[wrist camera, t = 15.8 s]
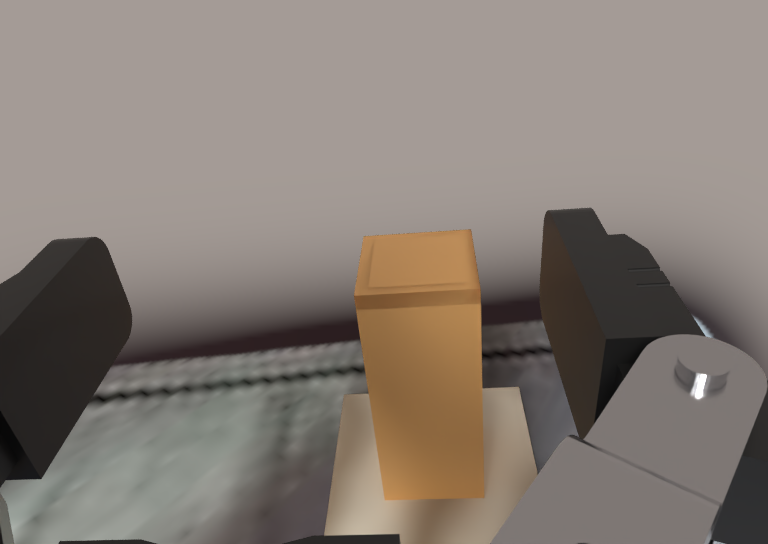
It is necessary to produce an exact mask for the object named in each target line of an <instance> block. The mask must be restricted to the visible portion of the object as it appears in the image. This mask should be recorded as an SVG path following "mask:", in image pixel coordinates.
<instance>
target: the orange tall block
mask: <svg viewBox="0 0 768 544" xmlns="http://www.w3.org/2000/svg"><path fill="white" fill-rule="evenodd" d="M354 298H355V305H356V312H357V319H358V326H359V332H360V339H361V346H362V352H363V359H364V365H365V372H366V379H367V385H368V392H369V399H370V405H371V412H372V419H373V425H374V432H375V438H376V445H377V452H378V458H379V465H380V472H381V478H382V485H383V492H384V498H385V500H418V499H460V498H484V448H483V394H482V340H481V290H480V282H479V277H478V270H477V264H476V257H475V252H474V246H473V239H472V233H471V230H470V229H469V230H453V231H438V232H424V233H407V234H392V235H377V236H364V238H363V244H362V250H361V256H360V262H359V268H358V275H357V280H356V287H355V293H354Z"/></svg>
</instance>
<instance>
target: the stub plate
mask: <svg viewBox="0 0 768 544" xmlns="http://www.w3.org/2000/svg"><path fill="white" fill-rule="evenodd" d="M482 394H483V448H484V498H460V499H418V500H385V498H384V492H383V485H382V478H381V472H380V465H379V458H378V452H377V445H376V438H375V432H374V425H373V419H372V412H371V405H370V399H369V394H348V395H344V399H343V406H342V413H341V420H340V427H339V434H338V442H337V449H336V456H335V463H334V470H333V477H332V484H331V491H330V498H329V505H328V512H327V519H326V526H325V533H324V536H326V535H373V534H400V542H401V544H490V543H491V541H492V540H493V538H494V537H495V535H496V534H497V533H498V531H499V530H500V528H501V527H502V525H503V524H504V523H505V521H506V520H507V518H508V517H509V515H510V514H511V512H512V511H513V510H514V508H515V507H516V505H517V504H518V502H519V501H520V500H521V498H522V497H523V495H524V494H525V492H526V491H527V490H528V488H529V487H530V485H531V484H532V482H533V481H534V480H535V478H536V477H537V475H538V473H537V469H536V464H535V460H534V455H533V450H532V446H531V441H530V436H529V432H528V427H527V423H526V418H525V413H524V409H523V404H522V399H521V395H520V390H519V387H505V388H482Z"/></svg>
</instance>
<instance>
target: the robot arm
mask: <svg viewBox="0 0 768 544" xmlns="http://www.w3.org/2000/svg"><path fill="white" fill-rule="evenodd" d="M540 306H541V313H542V318H543V322H544V325H545V328H546V332H547V335H548V338H549V341H550V345H551V348H552V351H553V354H554V357H555V361H556V364H557V367H558V370H559V373H560V377H561V380H562V383H563V386H564V389H565V393H566V396H567V399H568V402H569V405H570V409H571V412H572V415H573V418H574V421H575V425H576V428H577V431H578V434H579V437H580V438H579V437H577V436H575V435H569V436H567V437H566V438H565V439H564V440H563V441H562V442H561V443H560V444H559V445H558V447H557V448H556V449H555V451H554V452H553V454H552V455H551V457H550V458H549V459H548V461H547V462H546V464H545V465H544V467H543V468H542V469H541V471H540V472H539V474H538V475H537V477H536V478H535V480H534V481H533V482H532V484H531V485H530V487H529V488H528V490H527V491H526V492H525V494H524V495H523V497H522V498H521V500H520V501H519V502H518V504H517V505H516V507H515V508H514V510H513V511H512V512H511V514H510V515H509V517H508V518H507V520H506V521H505V523H504V524H503V525H502V527H501V528H500V530H499V531H498V533H497V534H496V535H495V537H494V538H493V540H492V541H491V543H490V544H714V541H717V542H721V543H725V544H768V380H767V379H766V376H765V374H764V372H763V370H762V369H761V367H760V366H759V365H758V364H757V363H756V362H755V361H754V360H753V359H752V358H751V357H749V356H748V355H747V354H746V353H744V352H743V351H741V350H739V349H738V348H736V347H734V346H732V345H730V344H728V343H725V342H722V341H720V340H717V339H713V338H709V337H706V336H705V335H704V333H703V332H702V330H701V329H700V327H699V326H698V324H697V323H696V321H695V320H694V318H693V317H692V315H691V313H690V312H689V310H688V309H687V307H686V306H685V304H684V303H683V301H682V300H681V298H680V297H679V296H678V294H677V292H676V291H675V289H674V288H673V287H672V286H670V282H669V280H668V279H667V277H666V276H665V274H664V273H663V271H660V267H659V265H658V264H657V262H656V261H655V259H654V258H653V256H652V255H651V253H650V252H649V250H648V249H647V248H645V247H644V246H642V245H641V244H639V243H638V242H636V241H635V240H633V239H632V238H630V237H628V236H627V235H625V234H617V235H608V234H607V233H606V231H605V229H604V228H603V226H602V224H601V222H600V221H599V219H598V217H597V215H596V214H595V212H594V210H593V209H592V208H579V209H563V210H548V211H547V212H546V214H545V218H544V226H543V243H542V258H541V274H540ZM131 327H132V314H131V308H130V305H129V302H128V300H127V297H126V294H125V292H124V289H123V287H122V284H121V282H120V279H119V276H118V274H117V271H116V268H115V266H114V263H113V261H112V258H111V255H110V253H109V250H108V248H107V246H106V245H105V243H104V242H103V241H102V240H101V239H99V238H97V237H89V238H72V239H57V240H53V241H51V242H50V243H49V244H48V245H47V246H46V247H45V248H44V249H43V250H42V251H41V252H40V253H39V254H38V255H37V256H36V257H35V258H34V259H33V260H32V261H31V262H30V263H29V264H28V265H27V266H26V267H25V268H24V269H23V270H21V271H20V272H19V273H18V274H16V275H14V276H13V277H11V278H10V279H8V280H6V281H4V282H3V283H1V284H0V487H1V486H2V484H3V483H4V481H5V480H22V479H42V477H43V475H44V474H45V472H46V470H47V469H48V467H49V466H50V464H51V462H52V461H53V459H54V458H55V456H56V454H57V453H58V451H59V450H60V448H61V446H62V445H63V443H64V441H65V440H66V438H67V437H68V435H69V433H70V432H71V430H72V429H73V427H74V425H75V424H76V422H77V421H78V419H79V417H80V416H81V414H82V412H83V411H84V409H85V408H86V406H87V404H88V403H89V401H90V400H91V398H92V396H93V395H94V393H95V392H96V390H97V388H98V387H99V385H100V383H101V382H102V380H103V379H104V377H105V375H106V374H107V372H108V371H109V369H110V367H111V366H112V364H113V363H114V361H115V359H116V358H117V356H118V354H119V353H120V351H121V349H122V348H123V346H124V345H125V343H126V342H127V340H128V338H129V335H130V332H131ZM0 544H14V540H13V534H12V529H11V524H10V518H9V513H8V508H7V504H6V501H5V500H4V498H3V497H2V495H1V494H0ZM59 544H156V543H152V542H148V541H144V540H96V541H60V542H59ZM284 544H401V542H400V534H373V535H326V536H311V537H307V538H303V539H299V540H295V541H291V542H287V543H284Z"/></svg>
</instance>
